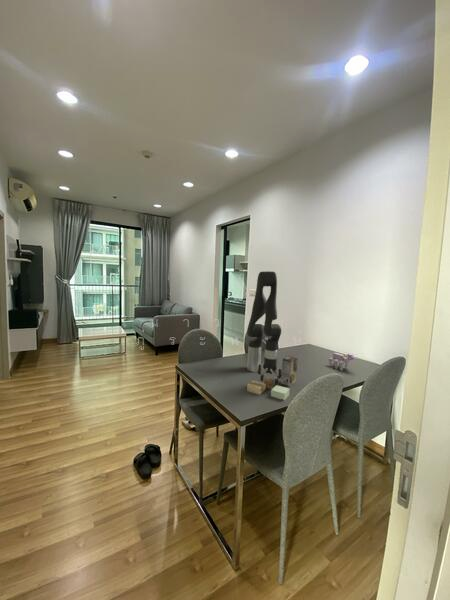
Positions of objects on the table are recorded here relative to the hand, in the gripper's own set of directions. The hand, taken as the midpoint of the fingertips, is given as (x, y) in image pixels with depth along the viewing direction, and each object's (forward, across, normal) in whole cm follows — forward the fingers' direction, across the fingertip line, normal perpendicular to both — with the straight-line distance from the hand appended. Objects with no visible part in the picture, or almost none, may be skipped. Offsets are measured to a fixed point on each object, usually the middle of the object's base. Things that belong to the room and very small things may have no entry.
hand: (268, 382), depth 159 cm
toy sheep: (+3, -38, -63) cm, 74 cm away
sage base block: (+3, -9, +7) cm, 12 cm away
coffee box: (+3, -9, -14) cm, 16 cm away
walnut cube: (+3, 0, 0) cm, 3 cm away
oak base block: (+3, +5, +8) cm, 10 cm away
